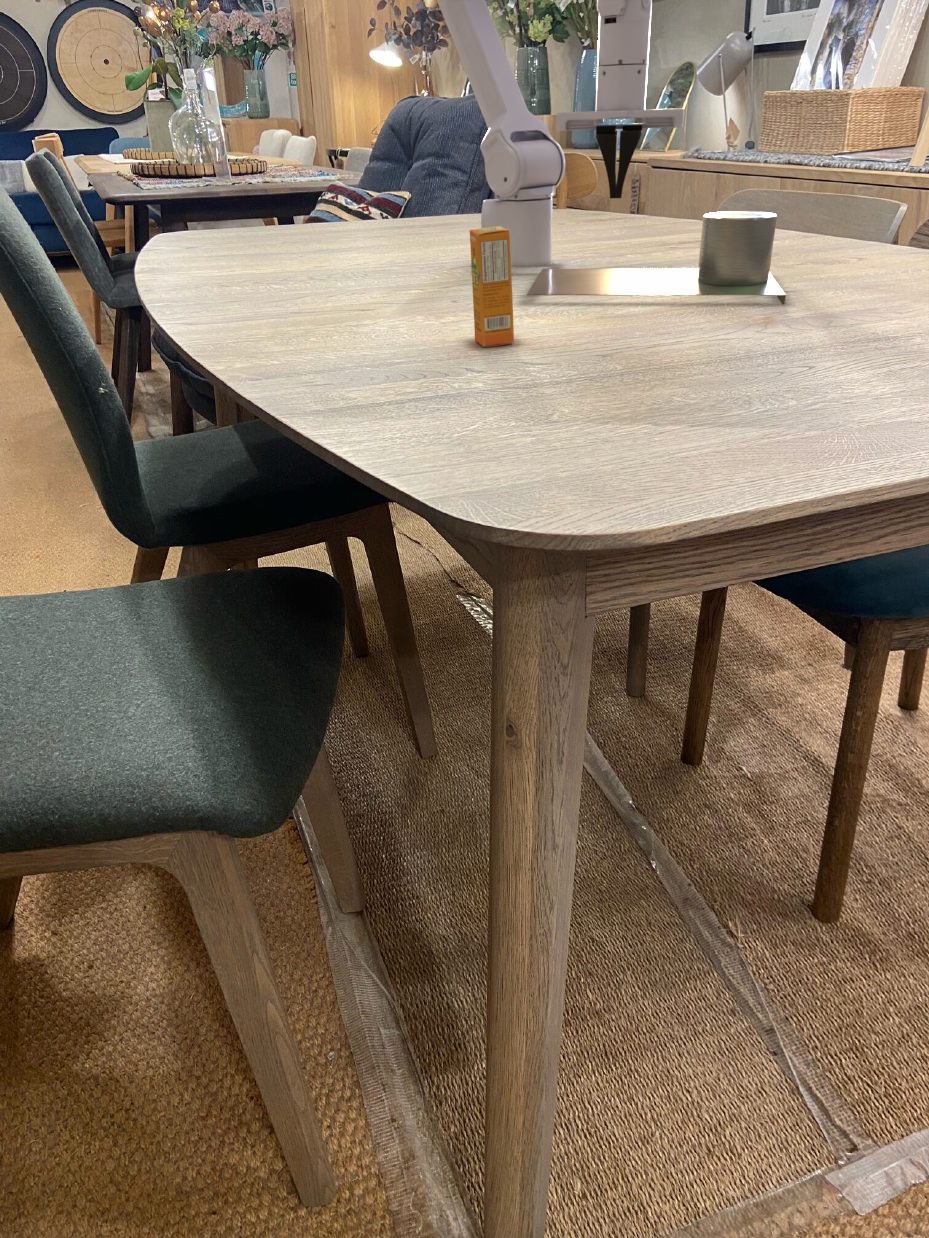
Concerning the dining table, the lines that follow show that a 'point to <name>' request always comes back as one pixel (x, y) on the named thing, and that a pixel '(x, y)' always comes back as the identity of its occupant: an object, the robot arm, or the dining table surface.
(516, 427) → the dining table surface
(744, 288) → the board
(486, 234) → the supplement box
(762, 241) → the grey metal cylinder
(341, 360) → the dining table surface
